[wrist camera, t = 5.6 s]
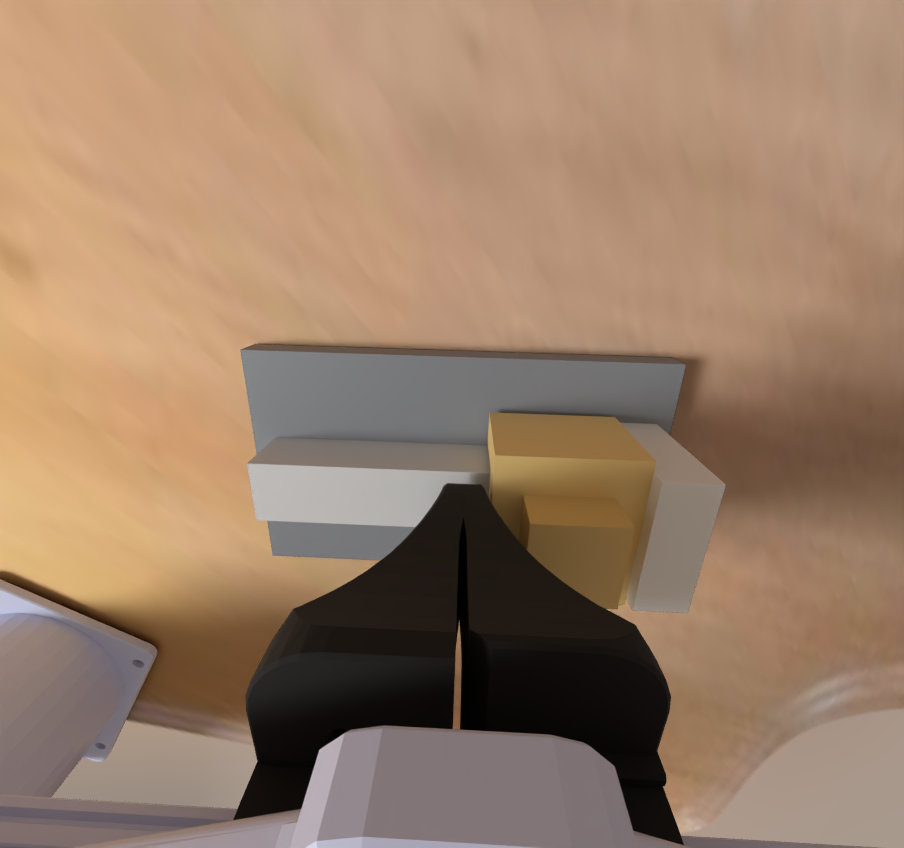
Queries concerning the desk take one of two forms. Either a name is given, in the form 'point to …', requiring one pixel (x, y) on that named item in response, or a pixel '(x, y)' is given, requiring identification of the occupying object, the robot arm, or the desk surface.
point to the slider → (572, 496)
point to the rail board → (431, 407)
